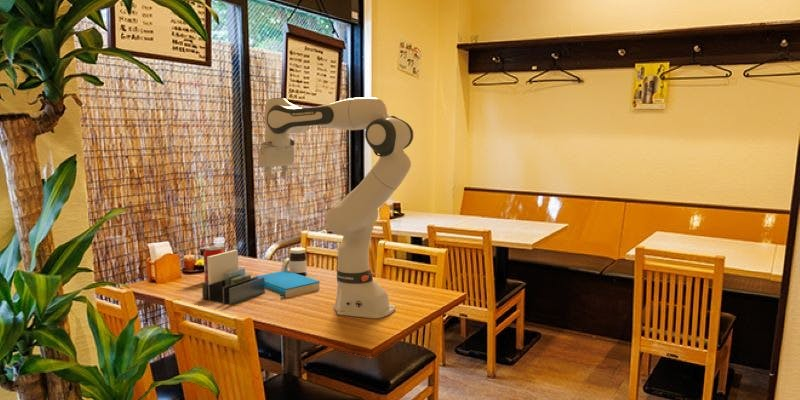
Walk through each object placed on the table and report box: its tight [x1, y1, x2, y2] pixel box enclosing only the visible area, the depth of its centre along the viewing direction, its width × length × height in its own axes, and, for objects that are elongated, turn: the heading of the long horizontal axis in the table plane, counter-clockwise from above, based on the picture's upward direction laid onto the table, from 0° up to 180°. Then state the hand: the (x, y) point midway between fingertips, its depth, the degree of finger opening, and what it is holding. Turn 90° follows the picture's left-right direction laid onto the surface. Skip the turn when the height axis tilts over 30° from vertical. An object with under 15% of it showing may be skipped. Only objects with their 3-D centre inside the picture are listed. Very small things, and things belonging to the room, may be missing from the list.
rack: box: [201, 267, 266, 306], centre depth 208 cm, size 16×18×10 cm
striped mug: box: [280, 246, 308, 276], centre depth 246 cm, size 12×11×12 cm
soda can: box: [203, 246, 224, 283], centre depth 230 cm, size 8×8×15 cm
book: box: [254, 270, 321, 299], centre depth 224 cm, size 17×4×25 cm
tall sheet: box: [207, 249, 239, 285], centre depth 210 cm, size 2×14×16 cm, turn 152°
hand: (276, 178), depth 207 cm, fingers open, 8 cm apart
